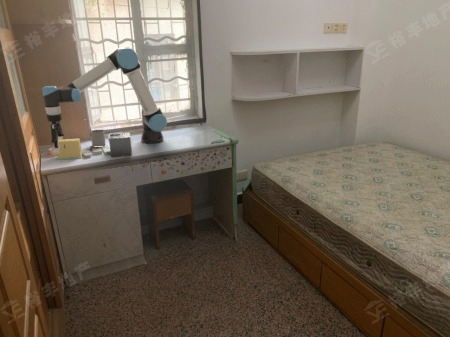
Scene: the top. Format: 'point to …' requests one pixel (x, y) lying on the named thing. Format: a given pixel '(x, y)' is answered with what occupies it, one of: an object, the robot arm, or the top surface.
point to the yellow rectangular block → (69, 148)
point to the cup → (98, 138)
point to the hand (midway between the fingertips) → (59, 149)
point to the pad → (69, 158)
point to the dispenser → (120, 144)
